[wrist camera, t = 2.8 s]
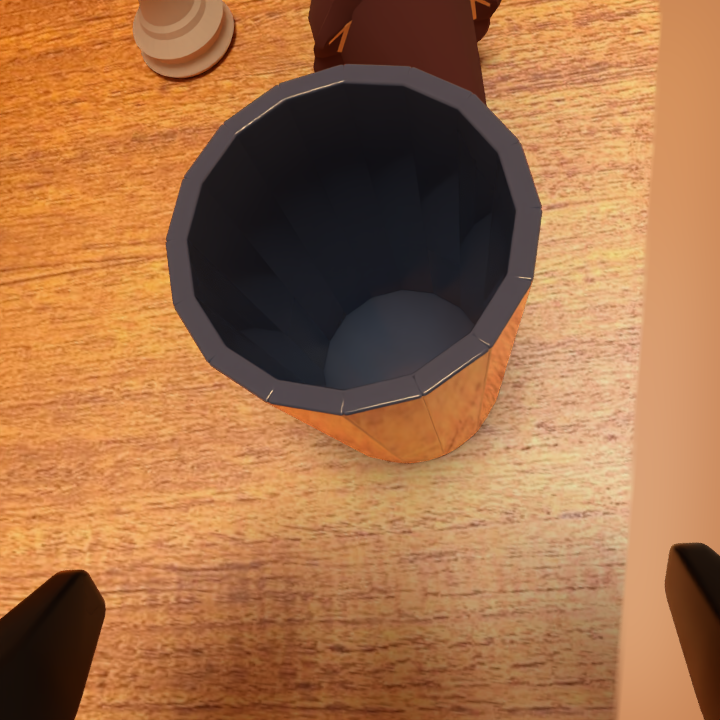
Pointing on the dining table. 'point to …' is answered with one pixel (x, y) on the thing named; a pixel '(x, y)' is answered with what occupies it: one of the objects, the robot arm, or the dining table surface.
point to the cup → (360, 255)
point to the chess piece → (182, 35)
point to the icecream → (404, 36)
